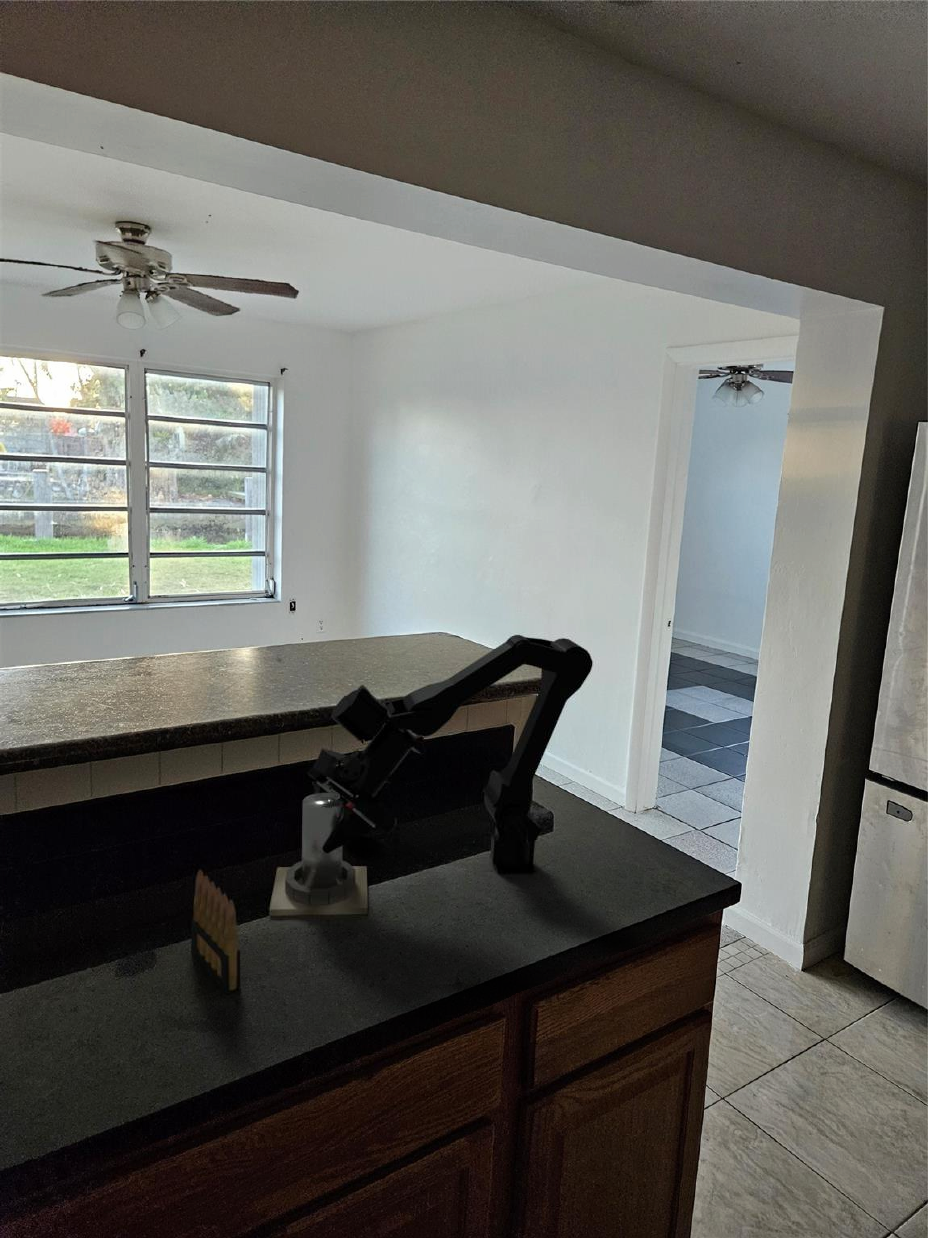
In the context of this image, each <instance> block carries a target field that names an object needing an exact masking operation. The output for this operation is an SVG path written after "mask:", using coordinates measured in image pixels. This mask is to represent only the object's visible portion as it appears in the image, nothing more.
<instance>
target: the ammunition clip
mask: <svg viewBox="0 0 928 1238" xmlns="http://www.w3.org/2000/svg"><path fill="white" fill-rule="evenodd" d="M190 927H191V933H190V934H191V936H190V937H191V940H190V941H191V942H190V944H191V945H190V953H191V955H192V956H193V957H194V958H195V960H197V961H198V963H199V964H200V965H201V966H202V967H203V969H204V970H205V971H206V973H207V974H208V975H209V976H210V977H211V978H212V979H213V981H214V982H215V983H216V984H217V985H218V986H219V988H220V989H221V990H222V991H223V992H224V994H226V995H228V994H230V993H233V992H235V991H238V990H240V989H241V950H239V948H238V946H239V944H238V942H239V941H238V938H239V937H238V936H239V934H238V928H237V927H238V926H237V915H236V908H235V904H234V901H233V899H228V896H227V893H222V890H221V888H220V887H217V888H216V885H215V882H214V881H211V882H210V879H209V877H208V876H207V875H205V876H204V872H203V871H202V869H199V870H198V872H197V874H196V879H195V891H194V900H193V917H192V918H191V926H190Z"/></svg>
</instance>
